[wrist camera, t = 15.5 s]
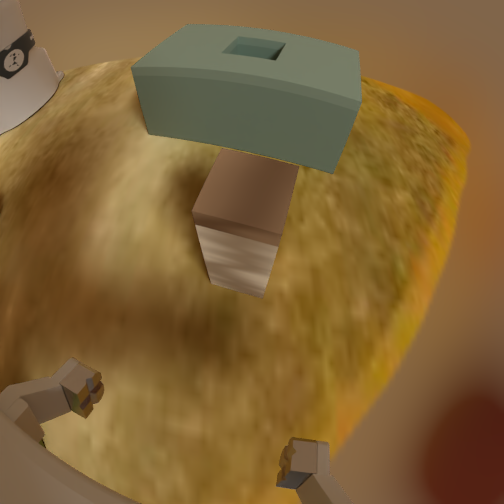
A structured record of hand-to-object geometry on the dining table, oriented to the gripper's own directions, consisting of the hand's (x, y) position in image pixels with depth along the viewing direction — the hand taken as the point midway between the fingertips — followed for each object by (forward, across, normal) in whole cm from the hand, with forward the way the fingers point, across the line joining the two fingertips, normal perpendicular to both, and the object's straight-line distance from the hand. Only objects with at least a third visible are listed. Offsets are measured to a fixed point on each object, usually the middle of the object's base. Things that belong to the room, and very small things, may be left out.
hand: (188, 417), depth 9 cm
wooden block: (+14, 0, -1) cm, 14 cm away
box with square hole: (+26, +5, -14) cm, 30 cm away
